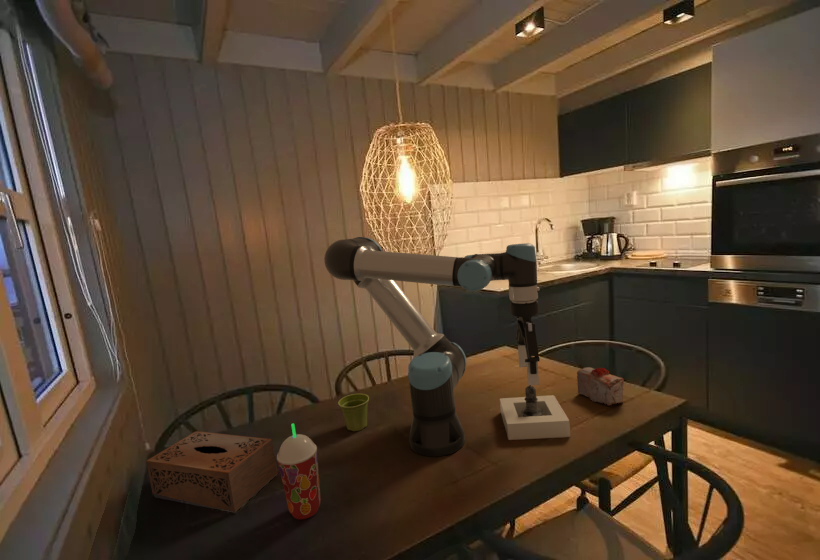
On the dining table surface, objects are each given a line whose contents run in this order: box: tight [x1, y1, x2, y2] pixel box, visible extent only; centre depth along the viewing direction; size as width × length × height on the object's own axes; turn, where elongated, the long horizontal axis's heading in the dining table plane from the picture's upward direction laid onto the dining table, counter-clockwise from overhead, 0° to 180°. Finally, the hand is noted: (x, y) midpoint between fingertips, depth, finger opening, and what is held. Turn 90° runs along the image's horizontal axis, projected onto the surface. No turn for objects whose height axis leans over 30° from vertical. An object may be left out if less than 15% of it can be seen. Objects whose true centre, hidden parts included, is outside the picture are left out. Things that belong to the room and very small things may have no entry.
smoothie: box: [276, 423, 322, 520], centre depth 87 cm, size 8×8×20 cm
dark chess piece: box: [521, 385, 543, 417], centre depth 114 cm, size 6×6×12 cm
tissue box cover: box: [145, 430, 278, 512], centre depth 101 cm, size 26×14×10 cm, turn 70°
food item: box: [576, 367, 625, 407], centre depth 125 cm, size 14×8×10 cm, turn 25°
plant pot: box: [337, 393, 370, 432], centre depth 124 cm, size 9×9×9 cm
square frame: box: [499, 395, 571, 441], centre depth 115 cm, size 16×16×4 cm
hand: (528, 375), depth 113 cm, fingers open, 13 cm apart
